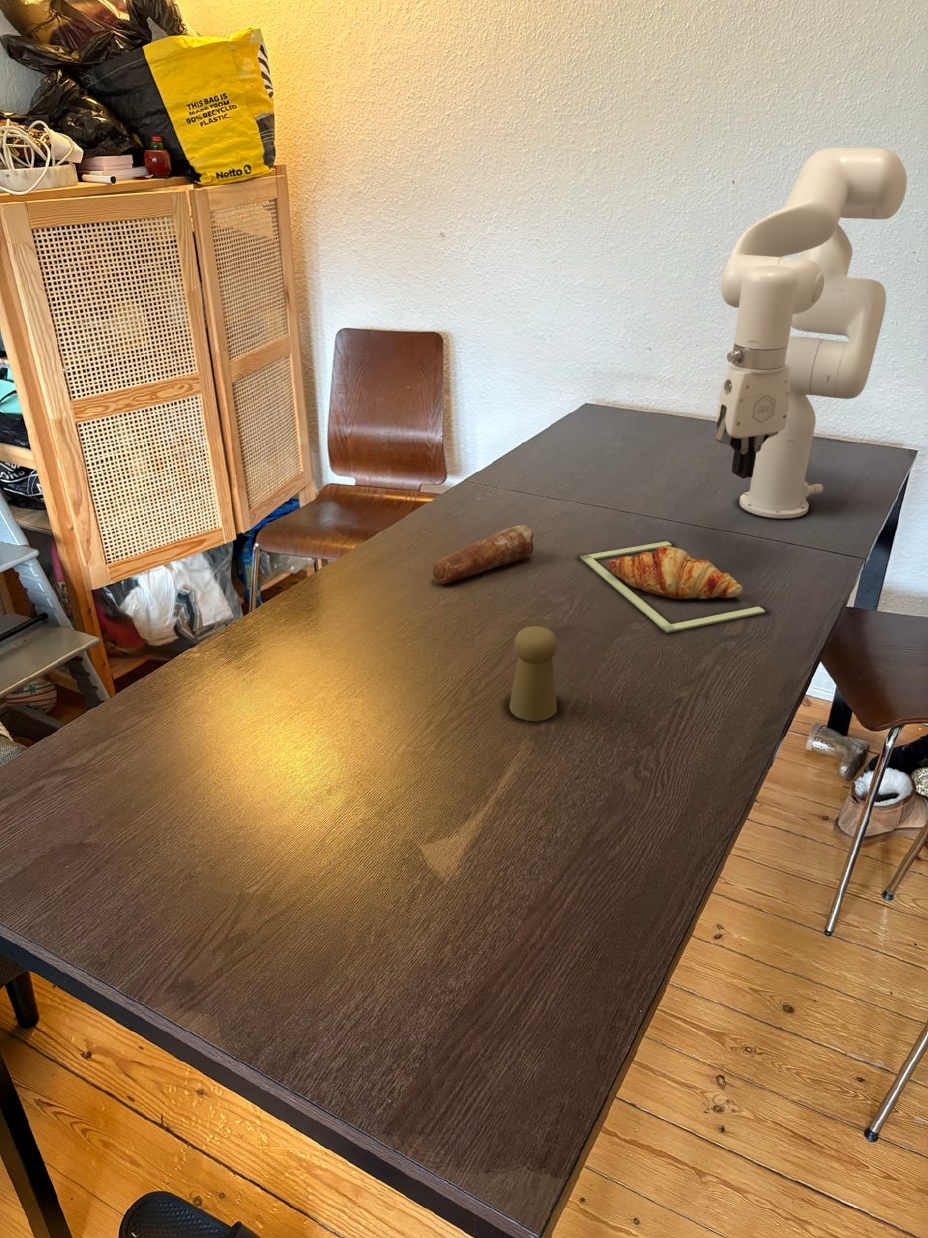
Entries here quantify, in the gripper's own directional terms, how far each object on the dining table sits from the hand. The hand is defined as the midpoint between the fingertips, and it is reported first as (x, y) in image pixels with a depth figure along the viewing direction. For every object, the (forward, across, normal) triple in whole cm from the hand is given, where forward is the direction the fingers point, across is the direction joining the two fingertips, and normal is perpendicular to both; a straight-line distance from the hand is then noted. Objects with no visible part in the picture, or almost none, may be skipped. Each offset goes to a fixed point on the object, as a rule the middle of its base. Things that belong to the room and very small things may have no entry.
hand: (741, 474), depth 142 cm
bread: (+16, -38, +14) cm, 44 cm away
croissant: (+16, -13, -3) cm, 21 cm away
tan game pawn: (+15, -47, -25) cm, 55 cm away
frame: (+16, -13, -1) cm, 20 cm away
